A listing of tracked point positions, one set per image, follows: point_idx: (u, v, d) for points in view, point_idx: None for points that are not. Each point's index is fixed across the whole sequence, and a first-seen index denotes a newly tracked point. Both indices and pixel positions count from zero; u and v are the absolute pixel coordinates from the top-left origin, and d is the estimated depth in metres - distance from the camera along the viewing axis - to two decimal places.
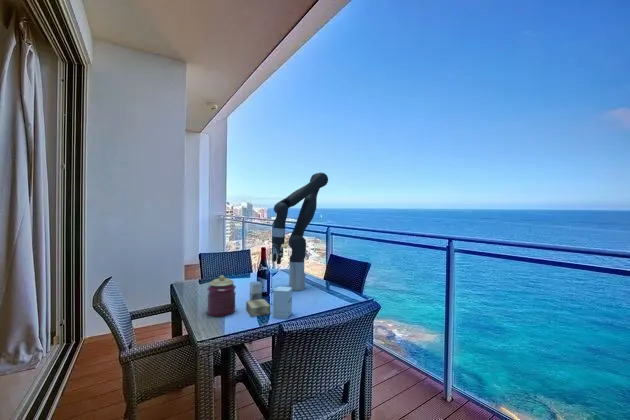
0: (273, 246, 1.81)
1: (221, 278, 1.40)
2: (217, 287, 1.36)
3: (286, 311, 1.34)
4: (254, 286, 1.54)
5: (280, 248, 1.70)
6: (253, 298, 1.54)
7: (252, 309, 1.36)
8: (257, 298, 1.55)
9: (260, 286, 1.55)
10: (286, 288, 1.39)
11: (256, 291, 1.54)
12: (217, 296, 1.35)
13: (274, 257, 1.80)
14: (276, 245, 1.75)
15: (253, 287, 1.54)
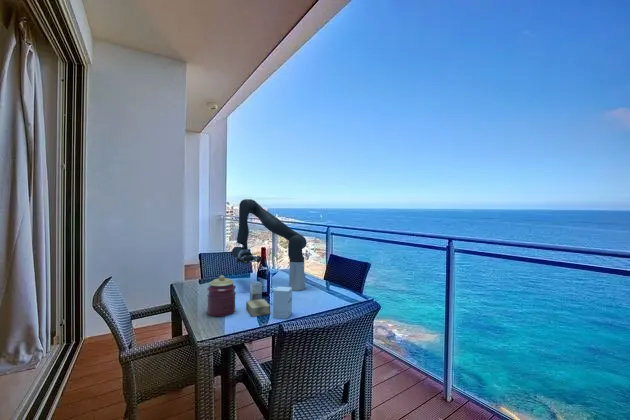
0: (257, 259, 1.78)
1: (221, 278, 1.40)
2: (217, 287, 1.36)
3: (286, 311, 1.34)
4: (254, 286, 1.54)
5: None
6: (253, 298, 1.54)
7: (252, 309, 1.36)
8: (257, 298, 1.55)
9: (260, 286, 1.55)
10: (286, 288, 1.39)
11: (256, 291, 1.54)
12: (217, 296, 1.35)
13: (257, 260, 1.71)
14: None
15: (253, 287, 1.54)
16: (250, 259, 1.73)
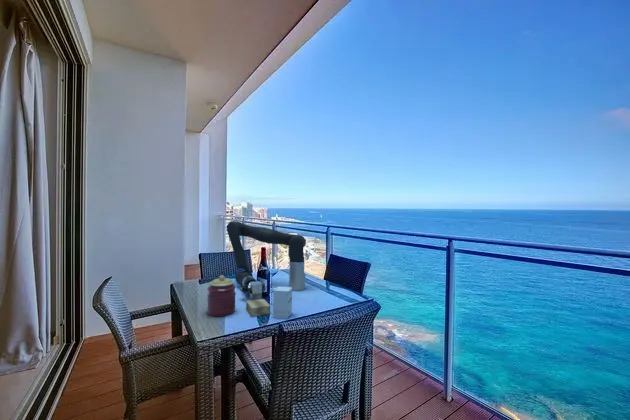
0: (262, 287, 1.65)
1: (221, 278, 1.40)
2: (217, 287, 1.36)
3: (286, 311, 1.34)
4: (254, 286, 1.54)
5: None
6: (253, 298, 1.54)
7: (252, 309, 1.36)
8: (257, 298, 1.55)
9: (260, 286, 1.55)
10: (286, 288, 1.39)
11: (256, 290, 1.54)
12: (217, 296, 1.35)
13: None
14: None
15: (253, 287, 1.54)
16: None
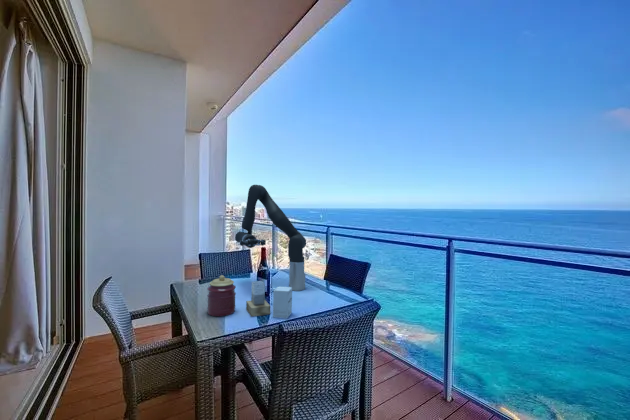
0: (261, 243, 1.73)
1: (221, 278, 1.40)
2: (217, 287, 1.36)
3: (286, 311, 1.34)
4: (256, 286, 1.39)
5: None
6: (255, 299, 1.39)
7: (252, 309, 1.36)
8: (260, 299, 1.40)
9: (263, 286, 1.41)
10: (286, 288, 1.39)
11: (258, 291, 1.40)
12: (217, 296, 1.35)
13: (261, 243, 1.67)
14: None
15: (255, 287, 1.39)
16: (254, 242, 1.69)
